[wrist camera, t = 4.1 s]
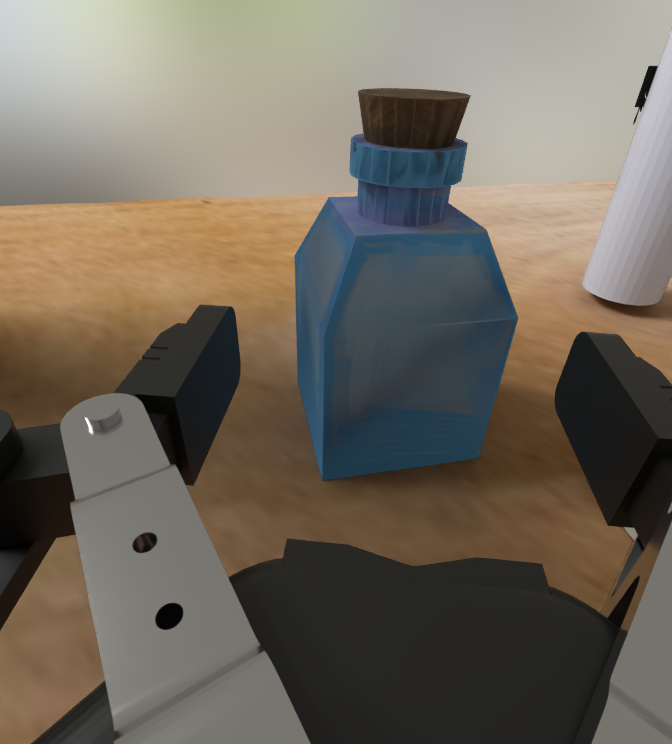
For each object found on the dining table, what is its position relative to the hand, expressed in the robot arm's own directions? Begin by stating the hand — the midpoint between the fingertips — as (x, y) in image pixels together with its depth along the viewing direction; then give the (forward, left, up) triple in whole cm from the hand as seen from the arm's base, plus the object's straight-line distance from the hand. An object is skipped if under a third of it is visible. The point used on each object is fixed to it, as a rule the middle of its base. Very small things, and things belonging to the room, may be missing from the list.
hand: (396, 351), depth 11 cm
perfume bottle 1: (+2, +6, -7) cm, 9 cm away
